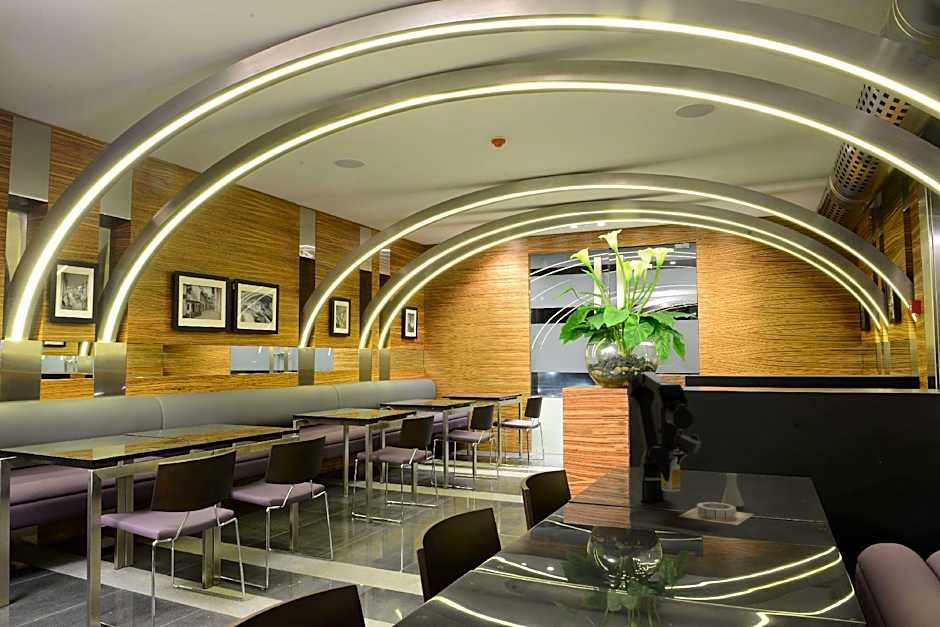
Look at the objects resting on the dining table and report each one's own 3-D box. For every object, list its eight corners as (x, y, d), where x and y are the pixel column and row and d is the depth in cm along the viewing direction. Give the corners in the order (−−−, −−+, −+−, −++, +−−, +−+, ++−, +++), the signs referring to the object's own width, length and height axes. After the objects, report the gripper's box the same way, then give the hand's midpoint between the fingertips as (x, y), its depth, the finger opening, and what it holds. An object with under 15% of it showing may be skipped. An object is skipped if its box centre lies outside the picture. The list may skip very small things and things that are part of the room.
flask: (741, 505, 204) (740, 472, 205) (748, 510, 197) (747, 476, 198) (716, 504, 205) (715, 471, 206) (723, 510, 198) (722, 475, 198)
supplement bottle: (680, 489, 196) (680, 455, 197) (680, 492, 191) (679, 458, 192) (661, 488, 198) (661, 455, 199) (660, 491, 193) (660, 457, 194)
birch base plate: (677, 519, 185) (677, 516, 185) (697, 509, 197) (697, 506, 197) (737, 528, 175) (737, 524, 175) (754, 517, 187) (754, 514, 188)
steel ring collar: (692, 515, 185) (692, 506, 185) (704, 509, 193) (704, 500, 193) (729, 521, 179) (728, 511, 179) (740, 514, 187) (739, 505, 187)
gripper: (685, 430, 184) (686, 487, 182) (707, 425, 198) (709, 478, 197) (646, 427, 190) (647, 482, 189) (671, 423, 205) (672, 474, 204)
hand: (670, 479), depth 195 cm, fingers closed on supplement bottle, 5 cm apart
